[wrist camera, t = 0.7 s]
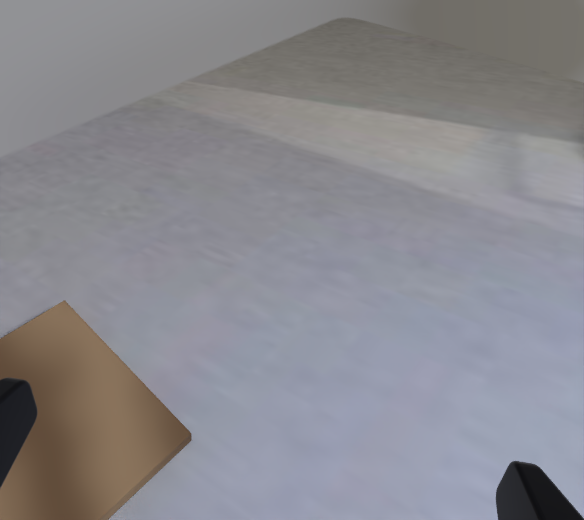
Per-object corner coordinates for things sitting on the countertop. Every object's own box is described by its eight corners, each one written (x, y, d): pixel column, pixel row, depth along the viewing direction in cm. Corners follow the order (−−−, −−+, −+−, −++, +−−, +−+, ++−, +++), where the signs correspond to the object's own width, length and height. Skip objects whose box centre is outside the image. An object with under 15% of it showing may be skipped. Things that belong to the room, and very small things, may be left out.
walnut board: (-33, 652, 17) (-44, 653, 16) (-154, 446, 21) (-167, 438, 20) (191, 440, 23) (191, 433, 23) (68, 309, 27) (64, 300, 26)
